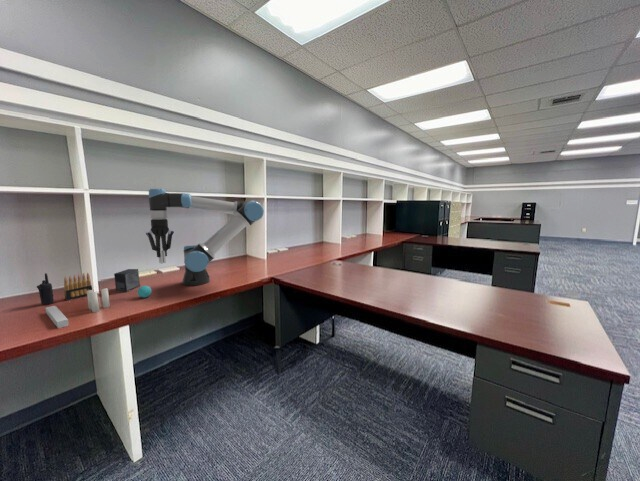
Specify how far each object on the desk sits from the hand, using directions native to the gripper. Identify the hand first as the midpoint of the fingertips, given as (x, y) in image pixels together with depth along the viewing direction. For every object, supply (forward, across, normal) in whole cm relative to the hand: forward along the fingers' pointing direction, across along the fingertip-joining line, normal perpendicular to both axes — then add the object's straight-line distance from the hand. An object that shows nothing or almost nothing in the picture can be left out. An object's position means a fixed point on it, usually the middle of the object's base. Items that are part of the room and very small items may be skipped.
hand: (162, 262), depth 140 cm
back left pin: (+16, +30, +2) cm, 34 cm away
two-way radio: (+17, +42, -27) cm, 52 cm away
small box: (+17, +10, -23) cm, 30 cm away
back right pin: (+16, +30, -2) cm, 34 cm away
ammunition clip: (+17, +30, -27) cm, 43 cm away
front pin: (+16, +26, 0) cm, 30 cm away
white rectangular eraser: (+16, +42, 0) cm, 45 cm away
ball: (+13, +10, 0) cm, 16 cm away
